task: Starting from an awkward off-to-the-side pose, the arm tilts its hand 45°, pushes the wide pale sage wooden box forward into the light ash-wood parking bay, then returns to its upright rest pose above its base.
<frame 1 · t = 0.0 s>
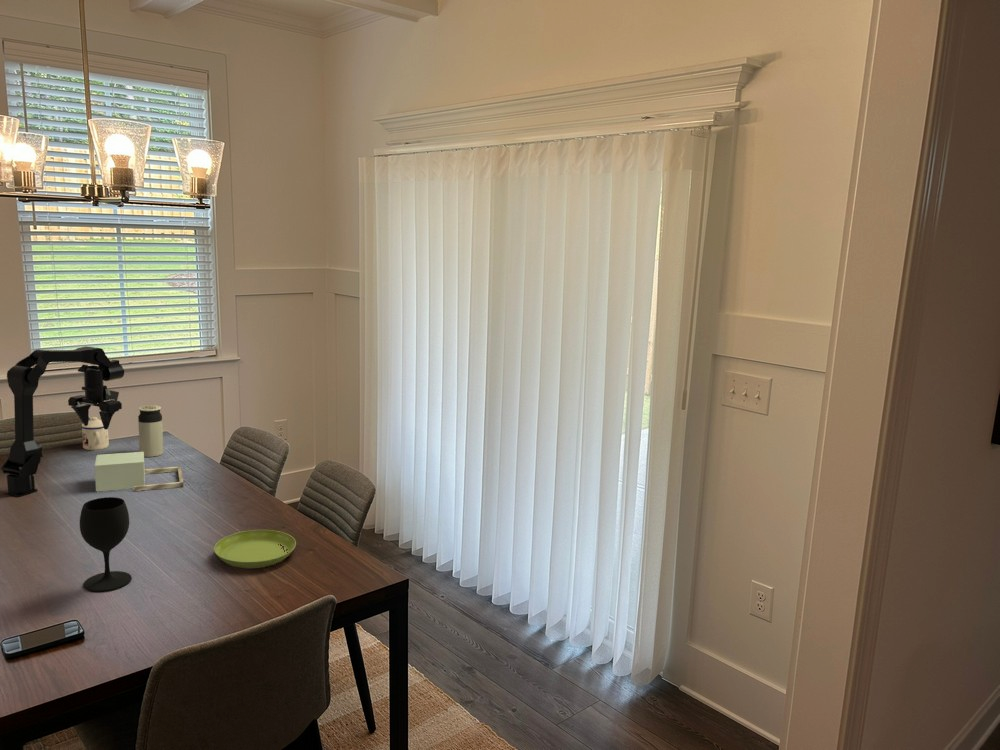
hand: (96, 427, 254), 15 cm above the table, tool pointing down, fingers open, 9 cm apart
parking bay: (158, 480, 248), on the table
sage box: (121, 484, 243), on the table
wine glass: (107, 582, 177), on the table
travel mug: (151, 454, 275), on the table
teacup with lid: (96, 448, 279), on the table
saucer: (255, 556, 196), on the table
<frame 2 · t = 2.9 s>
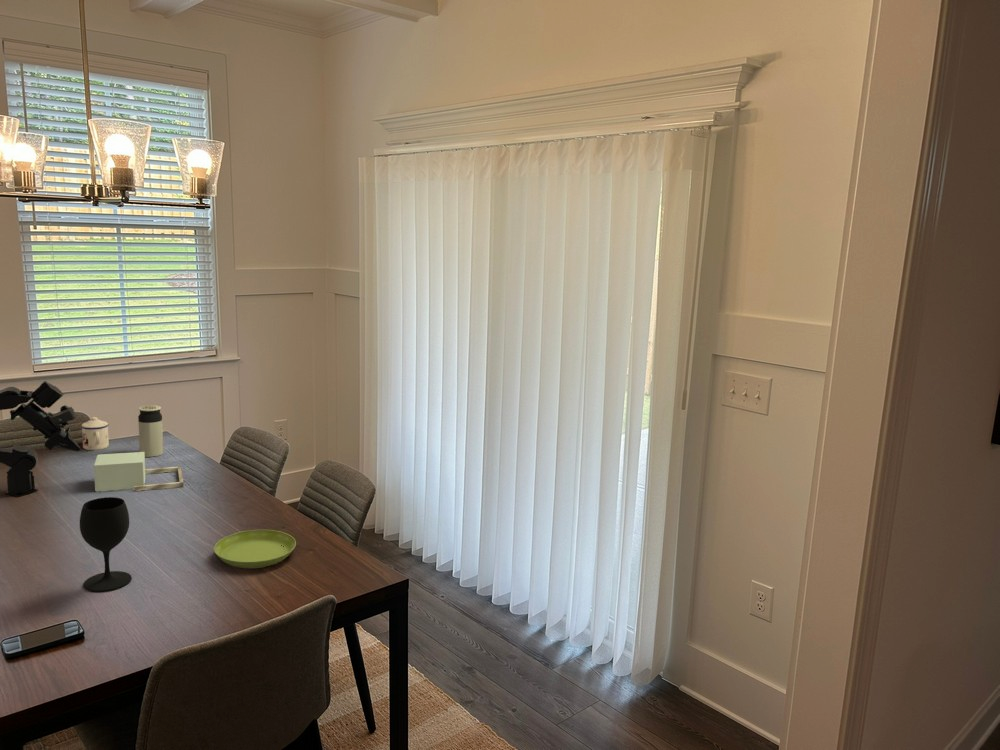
hand: (79, 450, 236), 12 cm above the table, tool tilted 45°, fingers closed
nothing on the table moved.
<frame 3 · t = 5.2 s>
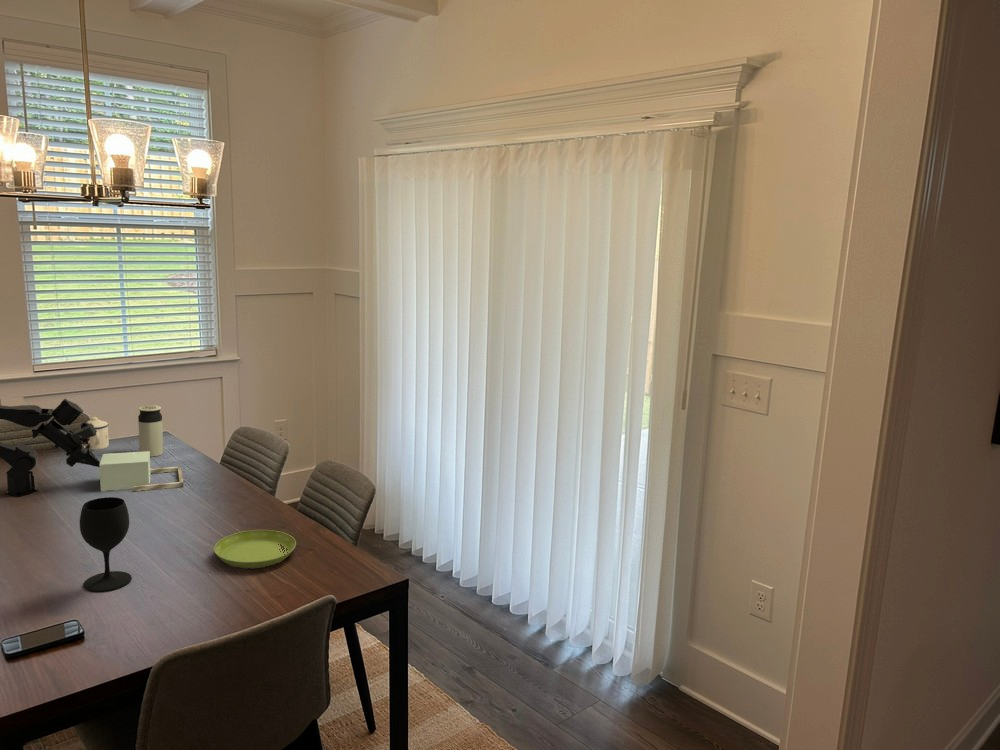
hand: (100, 465, 239), 7 cm above the table, tool tilted 45°, fingers closed
sage box: (126, 483, 244), on the table
everything else where it was.
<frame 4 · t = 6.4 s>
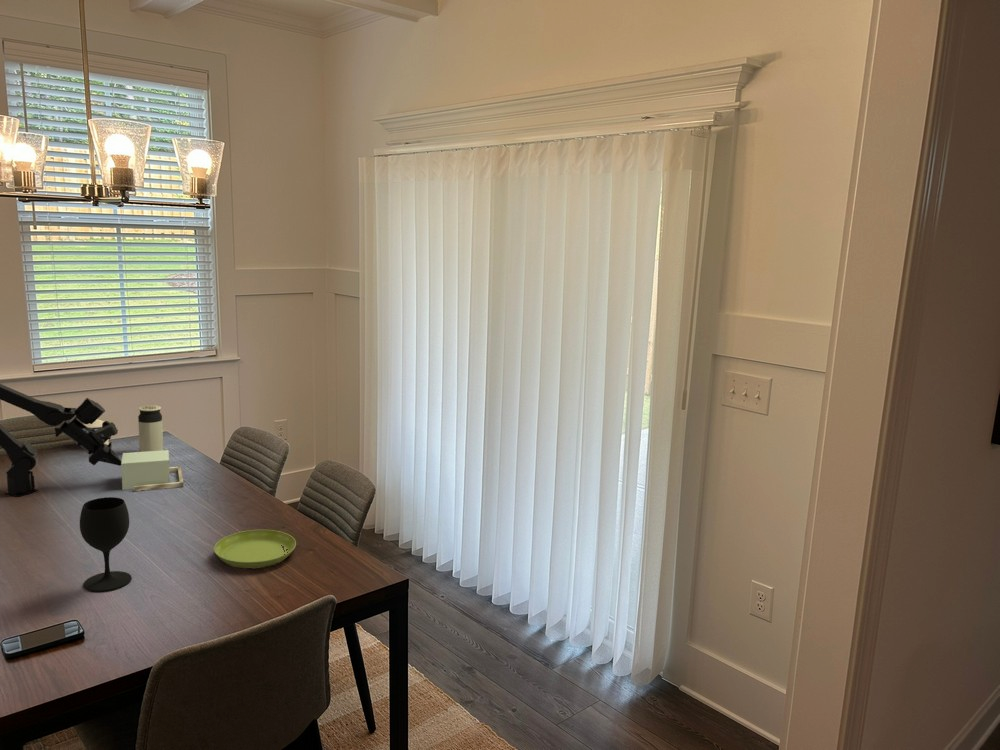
hand: (121, 464, 242), 7 cm above the table, tool tilted 45°, fingers closed
sage box: (146, 482, 246), on the table
everything else where it was.
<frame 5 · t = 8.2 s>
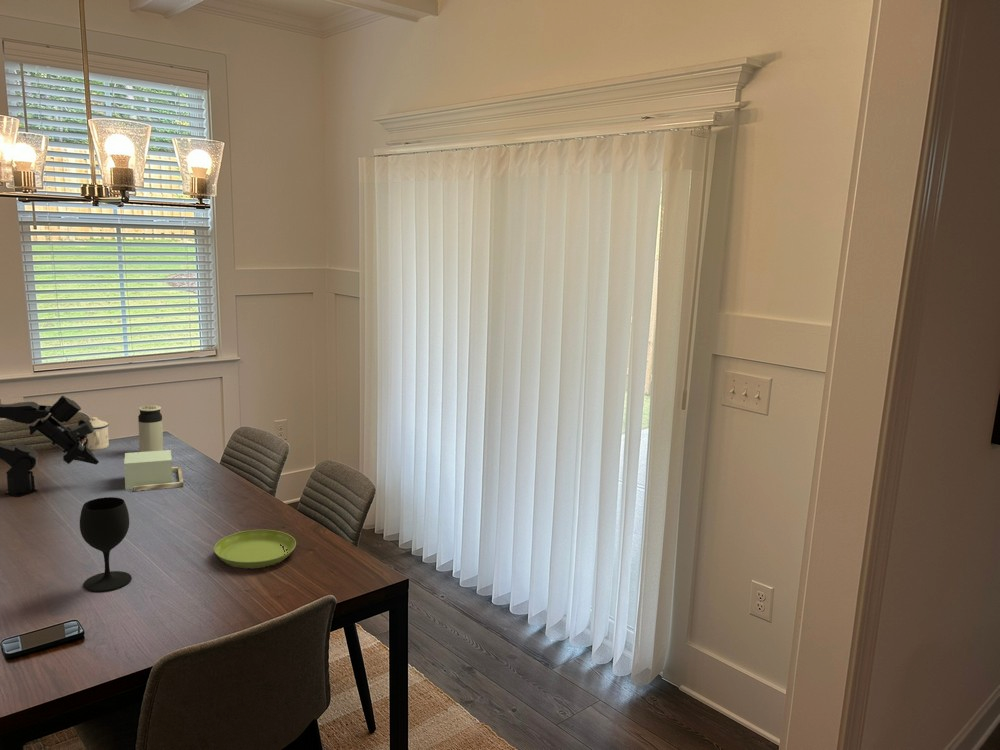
hand: (97, 463, 239), 8 cm above the table, tool tilted 45°, fingers closed
nothing on the table moved.
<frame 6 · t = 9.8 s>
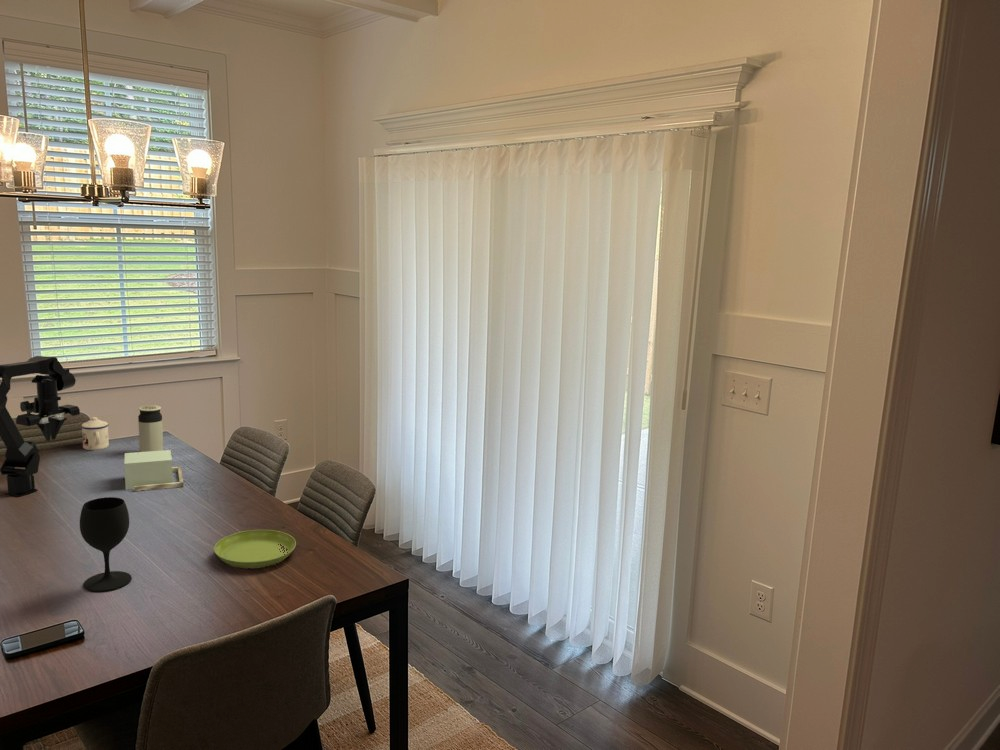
hand: (50, 440, 243), 13 cm above the table, tool pointing down, fingers closed
nothing on the table moved.
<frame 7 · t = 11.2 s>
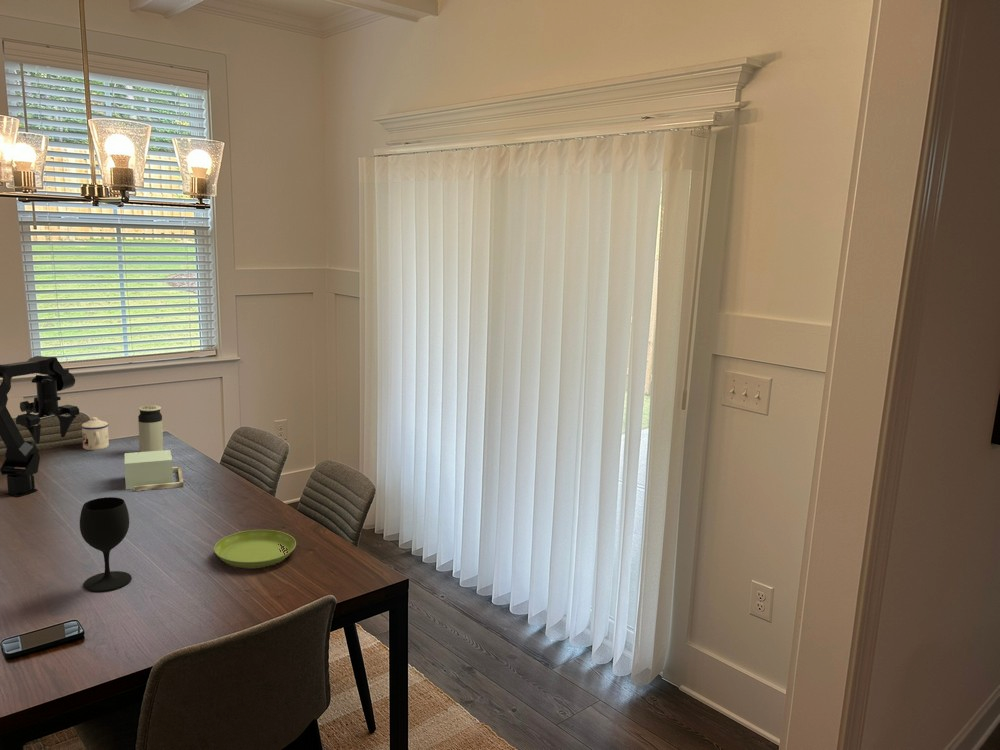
hand: (50, 440, 243), 13 cm above the table, tool pointing down, fingers open, 9 cm apart
nothing on the table moved.
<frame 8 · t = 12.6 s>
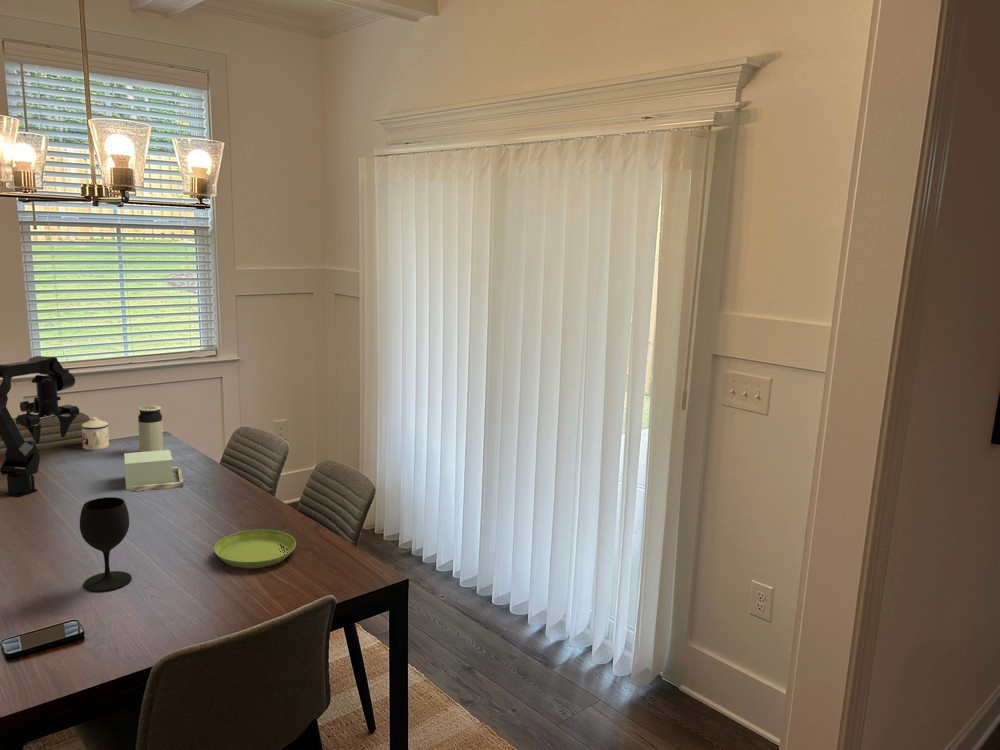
hand: (50, 440, 243), 13 cm above the table, tool pointing down, fingers open, 9 cm apart
nothing on the table moved.
at the end: sage box inside the target area on the parking bay (0.7 cm from its centre), point 0.0 cm above the parking bay's base; sage box tilted 0°; sage box moved 8.3 cm from its start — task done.
